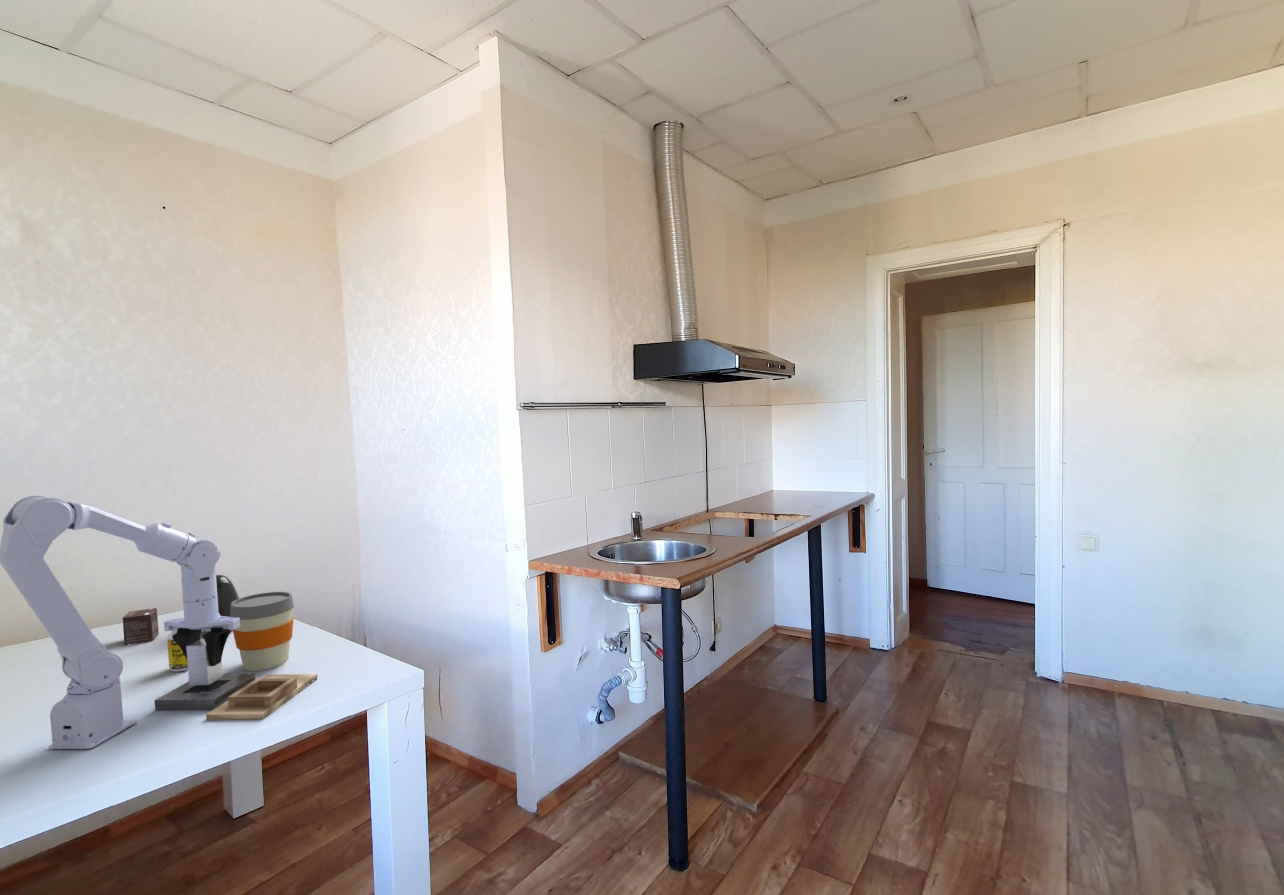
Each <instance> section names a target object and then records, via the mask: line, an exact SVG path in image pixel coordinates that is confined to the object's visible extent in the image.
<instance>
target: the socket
mask: <svg viewBox="0 0 1284 895" xmlns="http://www.w3.org/2000/svg"><path fill="white" fill-rule="evenodd" d="M222 674H223V673H222ZM254 680H256V674H255V673H234V674H233V673H229V674H223V677H221V678H220V679H218V680H216V681H214V682H213V683H211V684H209V685H189V680H188V681H186V682H185V683H183V684H181V685H179V686H178V687H176V688H173V689H172V690H171V691H168V692H167V693H165V694H163V695H161V696H160V697H157V698H156V699H154V710H155V711H205V710H206V711H208V710H211V711H212V710H214V709H215V708H217V707H218V706H220V705H222V704H223V703H225V702H226V701H228V697H229V696H230V695H232V694H233V693H235V692H237V691H238V690H240V689H241V688H243V687H244V686H246V685H248V684H249V683H251V682H252V681H254ZM204 691H211V692H204Z"/></svg>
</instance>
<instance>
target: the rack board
mask: <svg viewBox="0 0 1284 895" xmlns="http://www.w3.org/2000/svg"><path fill="white" fill-rule="evenodd" d="M318 676H319V675H318V673H297V674H295V673H289V674H287V673H286V674H284V673H283V674H282V673H281V674H279V673H278V674H274V673H273V674H267V675H266V676H264V677H261V678H255V680H254V681H252V682H251V683H249V684H248V685H246V686H244V687H243V688H241V689H240V690H238V691H237V692H235V693H233V694H232V695H230V696H229V697H228V701H226V702H225V703H223V704H222V705H220V706H218V707H217V708H215V709H214V710H211V711H209V712H208V713H206V714H205V716H206V720H210V721H211V720H212V721H213V720H218V721H219V720H264V719H265V718H267V717H269V715H271V714H272V713H273V712H275V711H276V710H277V709H279V708H280V707H281V706H283V705H284V704H286V703H287V702H288V701H290V700H292V698H294V697H295V696H296V695H298V694H299V693H300V692H302V691H303V690H304V689H306V688H307V687H308V686H309V685H308V684H310V683H311V682H312V681H313V680H315V679H316V678H317V677H318ZM318 678H319V677H318ZM316 680H317V679H316ZM316 680H315V681H316ZM312 683H313V682H312ZM312 683H311V684H312ZM311 684H310V685H311ZM307 685H308V686H307ZM306 686H307V687H306ZM305 687H306V688H305ZM303 688H304V689H303ZM302 689H303V690H302ZM301 690H302V691H301ZM299 691H300V692H299ZM298 692H299V693H298ZM297 693H298V694H297Z"/></svg>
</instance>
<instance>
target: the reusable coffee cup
mask: <svg viewBox="0 0 1284 895" xmlns="http://www.w3.org/2000/svg"><path fill="white" fill-rule="evenodd" d="M294 607H295V604H294V599H293V595H292V593H291V592H289V591H269V592H261V593H255V594H250V595H247V596H243V597H241V598H240V597H239V599H237V600H235V601H233V602H232V603H231V612H230V617H233V618H240V627H239V628H237V629H235V630H232V634H233V638H234V641H235V645H236V647H235V648H236V649H238V650H239V655H240V658H241V664H242V667H243V670H245V671H246V672H247V671H248V672H260V671H266V670H270V669H275V668H277V667H280V666H282V665H284V664H286V663H287V662H288V661H289V658H290V656H289V655H290V647H291V646H290V645H291V644H290V642H291V640H292V638H293V632H294V630H293V628H294V617H293V608H294ZM287 660H288V661H287ZM286 661H287V662H286ZM285 662H286V663H285ZM283 663H284V664H283ZM279 665H280V666H279ZM276 666H277V667H276Z"/></svg>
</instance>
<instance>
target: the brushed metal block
mask: <svg viewBox="0 0 1284 895" xmlns="http://www.w3.org/2000/svg"><path fill="white" fill-rule="evenodd" d="M186 649H187V662H188V670H187V673H188V675H187V676H188V681H189V685H209V684H211V683H213V682H214V681H216V680H218V679H220V678H221V677H223V661H222V659H221V663H219V664H217V665H215V666H211V665H210V662H209V654H208V648H207V645H206V642H205V640H204V638H200V640H198V641H196V642H194V643H192V644H190V645H187V646H186Z"/></svg>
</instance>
